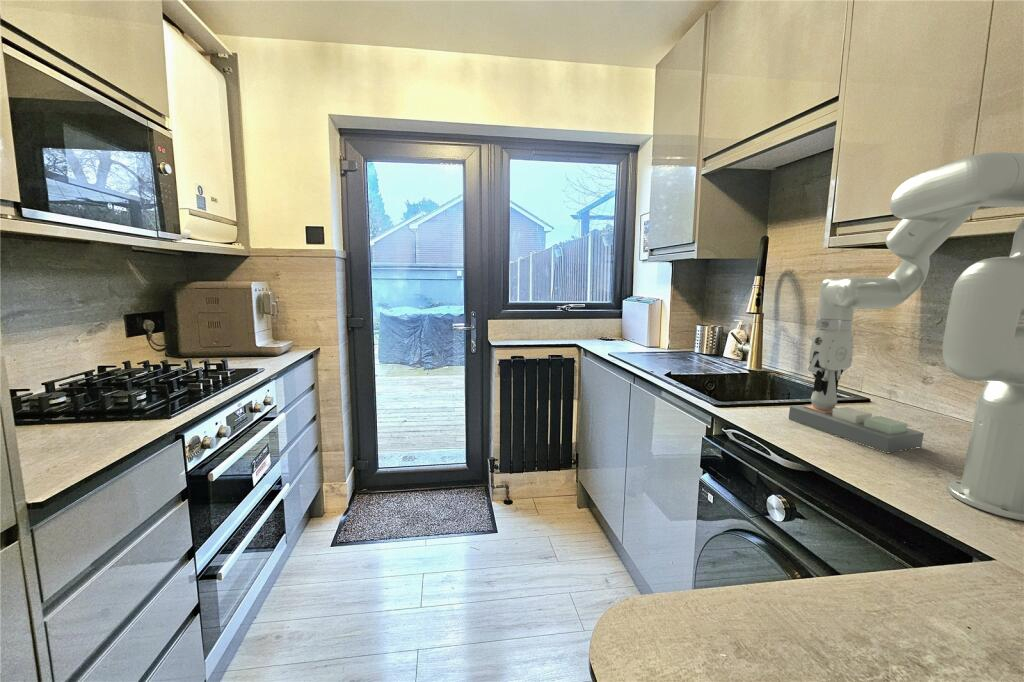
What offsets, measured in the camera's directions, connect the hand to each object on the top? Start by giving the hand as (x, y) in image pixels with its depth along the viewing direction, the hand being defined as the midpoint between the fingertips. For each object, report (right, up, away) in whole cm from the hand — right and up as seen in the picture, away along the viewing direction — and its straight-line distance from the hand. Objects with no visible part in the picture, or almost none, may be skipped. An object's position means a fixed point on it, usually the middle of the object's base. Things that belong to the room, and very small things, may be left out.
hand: (824, 393), depth 115 cm
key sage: (+5, -8, -13) cm, 16 cm away
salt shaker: (0, -4, +1) cm, 5 cm away
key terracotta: (0, -8, +1) cm, 8 cm away
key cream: (+2, -7, -6) cm, 10 cm away
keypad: (+2, -9, -6) cm, 11 cm away
